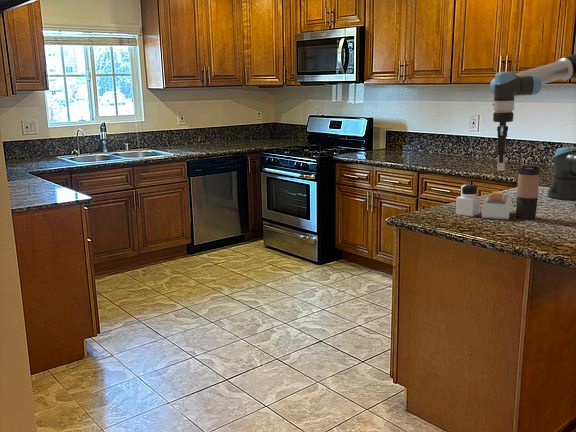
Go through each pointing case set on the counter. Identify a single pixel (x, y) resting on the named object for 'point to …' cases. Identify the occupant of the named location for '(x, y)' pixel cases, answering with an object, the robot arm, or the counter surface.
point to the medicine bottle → (468, 201)
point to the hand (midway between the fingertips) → (500, 170)
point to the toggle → (497, 196)
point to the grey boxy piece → (496, 208)
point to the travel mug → (527, 192)
